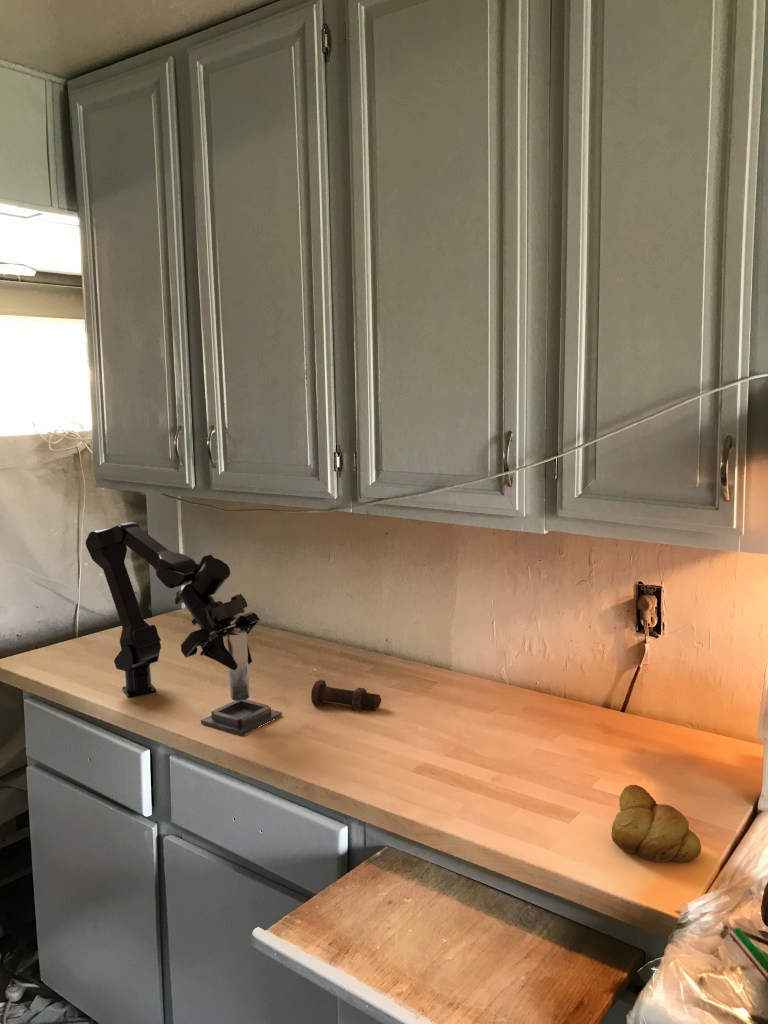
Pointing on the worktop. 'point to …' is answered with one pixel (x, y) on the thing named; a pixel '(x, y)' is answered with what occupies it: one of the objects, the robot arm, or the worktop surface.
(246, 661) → the shiny tapered metal piece
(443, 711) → the worktop surface
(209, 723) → the block
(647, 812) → the bread roll
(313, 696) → the bolt
